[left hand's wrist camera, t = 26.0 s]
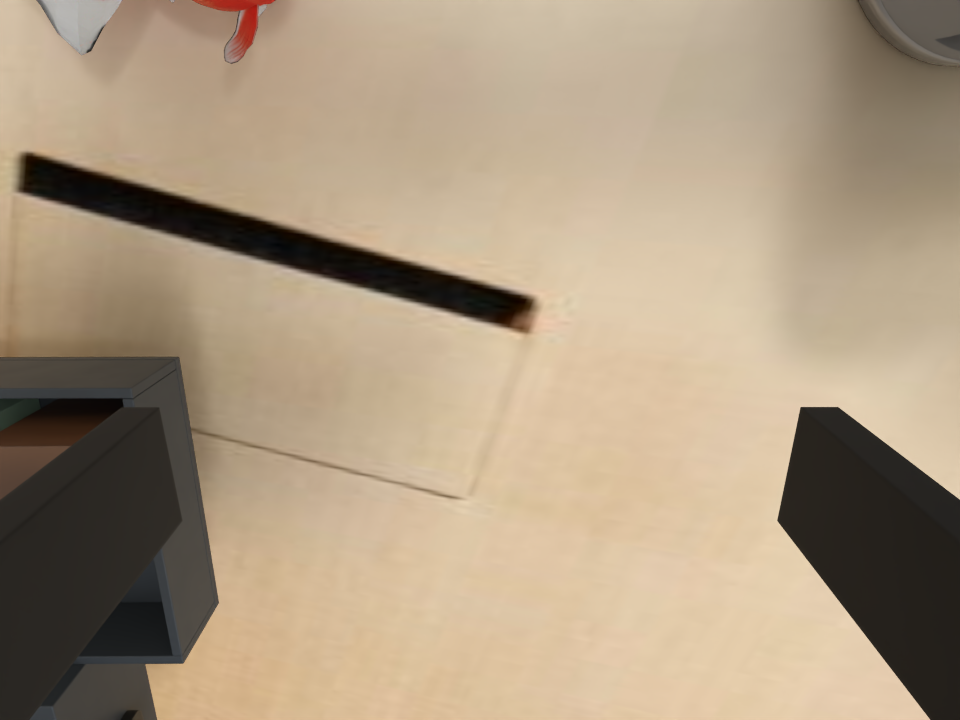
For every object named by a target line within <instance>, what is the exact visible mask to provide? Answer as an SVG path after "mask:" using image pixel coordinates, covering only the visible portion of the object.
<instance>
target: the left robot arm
mask: <svg viewBox="0 0 960 720" xmlns="http://www.w3.org/2000/svg"><path fill="white" fill-rule="evenodd" d="M859 3H860V5H861V7H862V9H863V11H864V13H865V15H866V16H867V18H868V19H869V21H870V22H871V24H872V25H873V27H874V28H875V29H876V30H877V31H878V32H879V34H880V35H881V36H882V37H883V38H884V39H885V40H887V41H888V42H889V43H890V44H891V45H892V46H894V47H895V48H897V49H898V50H900V51H901V52H903V53H905V54H907V55H909V56H911V57H913V58H915V59H918V60H921V61H923V62H927V63H931V64H936V65H943V66H960V0H859ZM182 521H183V520H182V515H181V511H180V506H179V501H178V496H177V491H176V486H175V481H174V476H173V472H172V467H171V462H170V457H169V452H168V447H167V442H166V437H165V433H164V428H163V423H162V418H161V413H160V408H159V407H121V408H120V409H119V410H118V411H116V412H115V413H114V414H112V415H111V416H110V417H108V418H107V419H106V420H104V421H103V422H102V423H100V424H99V425H98V426H97V427H95V428H94V429H93V430H91V431H90V432H89V433H87V434H86V435H85V436H83V437H82V438H81V439H79V440H78V441H77V442H76V443H74V444H73V445H72V446H70V447H69V448H68V449H66V450H65V451H64V452H62V453H61V454H60V455H58V456H57V457H56V458H55V459H53V460H52V461H51V462H49V463H48V464H47V465H45V466H44V467H43V468H41V469H40V470H39V471H37V472H36V473H35V474H34V475H32V476H31V477H30V478H28V479H27V480H26V481H24V482H23V483H22V484H20V485H19V486H18V487H16V488H15V489H14V490H13V491H11V492H10V493H9V494H7V495H6V496H5V497H3V498H2V499H1V500H0V720H30V718H31V717H32V716H33V715H34V713H35V712H36V711H37V709H38V708H39V707H40V705H41V704H42V703H43V702H44V700H45V699H46V698H47V696H48V695H49V694H50V692H51V691H52V690H53V689H54V687H55V686H56V685H57V683H58V682H59V681H60V679H61V678H62V677H63V676H64V674H65V673H66V672H67V670H68V669H69V668H70V666H71V665H72V664H73V663H74V661H75V660H76V659H77V657H78V656H79V655H80V653H81V652H82V651H83V650H84V648H85V647H86V646H87V644H88V643H89V642H90V640H91V639H92V638H93V637H94V635H95V634H96V633H97V631H98V630H99V629H100V627H101V626H102V625H103V624H104V622H105V621H106V620H107V618H108V617H109V616H110V614H111V613H112V612H113V611H114V609H115V608H116V607H117V605H118V604H119V603H120V601H121V600H122V599H123V598H124V596H125V595H126V594H127V592H128V591H129V590H130V588H131V587H132V586H133V585H134V583H135V582H136V581H137V579H138V578H139V577H140V575H141V574H142V573H143V572H144V570H145V569H146V568H147V566H148V565H149V564H150V563H151V561H152V560H153V559H154V557H155V556H156V555H157V553H158V552H159V551H160V550H161V548H162V547H163V546H164V544H165V543H166V542H167V540H168V539H169V538H170V537H171V535H172V534H173V533H174V531H175V530H176V529H177V527H178V526H179V525H180V524H181V522H182ZM777 521H778V522H779V524H780V525H781V526H782V527H783V529H784V530H785V531H786V533H787V534H788V535H789V537H790V538H791V539H792V540H793V542H794V543H795V544H796V546H797V547H798V548H799V550H800V551H801V552H802V553H803V555H804V556H805V557H806V559H807V560H808V561H809V563H810V564H811V565H812V566H813V568H814V569H815V570H816V572H817V573H818V574H819V575H820V577H821V578H822V579H823V581H824V582H825V583H826V585H827V586H828V587H829V588H830V590H831V591H832V592H833V594H834V595H835V596H836V598H837V599H838V600H839V601H840V603H841V604H842V605H843V607H844V608H845V609H846V611H847V612H848V613H849V614H850V616H851V617H852V618H853V620H854V621H855V622H856V624H857V625H858V626H859V627H860V629H861V630H862V631H863V633H864V634H865V635H866V637H867V638H868V639H869V640H870V642H871V643H872V644H873V646H874V647H875V648H876V650H877V651H878V652H879V653H880V655H881V656H882V657H883V659H884V660H885V661H886V663H887V664H888V665H889V666H890V668H891V669H892V670H893V672H894V673H895V674H896V676H897V677H898V678H899V679H900V681H901V682H902V683H903V685H904V686H905V687H906V689H907V690H908V691H909V692H910V694H911V695H912V696H913V698H914V699H915V700H916V702H917V703H918V704H919V705H920V707H921V708H922V709H923V711H924V712H925V713H926V715H927V716H928V717H929V718H930V720H960V500H959V499H958V498H957V497H955V496H954V495H953V494H951V493H950V492H949V491H947V490H946V489H945V488H944V487H942V486H941V485H940V484H938V483H937V482H936V481H934V480H933V479H932V478H930V477H929V476H928V475H926V474H925V473H924V472H923V471H921V470H920V469H919V468H917V467H916V466H915V465H913V464H912V463H911V462H909V461H908V460H907V459H905V458H904V457H903V456H902V455H900V454H899V453H898V452H896V451H895V450H894V449H892V448H891V447H890V446H888V445H887V444H886V443H884V442H883V441H882V440H881V439H879V438H878V437H877V436H875V435H874V434H873V433H871V432H870V431H869V430H867V429H866V428H865V427H863V426H862V425H861V424H860V423H858V422H857V421H856V420H854V419H853V418H852V417H850V416H849V415H848V414H846V413H845V412H844V411H842V410H841V409H840V408H839V407H801V408H800V413H799V418H798V423H797V428H796V433H795V437H794V442H793V447H792V452H791V457H790V462H789V467H788V472H787V476H786V481H785V486H784V491H783V496H782V501H781V506H780V511H779V515H778V520H777Z"/></svg>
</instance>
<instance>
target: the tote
mask: <svg viewBox="0 0 960 720" xmlns="http://www.w3.org/2000/svg"><path fill="white" fill-rule="evenodd" d="M63 398H123V406H124V407H159V408H160V413H161V418H162V423H163V428H164V433H165V437H166V442H167V447H168V452H169V457H170V462H171V467H172V472H173V476H174V481H175V486H176V491H177V496H178V501H179V506H180V511H181V515H182V520H183V521H182V522H181V524H180V525H179V526H178V527H177V529H176V530H175V531H174V533H173V534H172V535H171V537H170V538H169V539H168V540H167V542H166V543H165V544H164V546H163V547H162V548H161V550H160V551H159V552H158V553H157V555H156V556H155V557H154V559H153V560H152V561H151V563H150V564H149V565H148V566H147V568H146V569H145V570H144V572H143V573H142V574H141V575H140V577H139V578H138V579H137V581H136V582H135V583H134V585H133V586H132V587H131V588H130V590H129V591H128V592H127V594H126V595H125V596H124V598H123V599H122V600H121V601H120V603H119V604H118V605H117V607H116V608H115V609H114V611H113V612H112V613H111V614H110V616H109V617H108V618H107V620H106V621H105V622H104V624H103V625H102V626H101V627H100V629H99V630H98V631H97V633H96V634H95V635H94V637H93V638H92V639H91V640H90V642H89V643H88V644H87V646H86V647H85V648H84V650H83V651H82V652H81V653H80V655H79V656H78V657H77V659H76V660H75V661H74V663H73V664H72V665H71V666H70V668H69V669H68V670H67V672H66V673H65V674H64V676H63V677H62V678H61V679H60V681H59V682H58V683H57V685H56V686H55V687H54V689H53V690H52V691H51V692H50V694H49V695H48V696H47V698H46V699H45V700H44V702H43V703H42V704H41V705H40V707H39V708H38V709H37V711H36V712H35V713H34V715H33V716H32V717H31V718H30V720H121V719H122V717H123V715H124V714H125V712H126V711H127V710H141V711H142V715H143V719H144V720H157V717H156V712H155V708H154V703H153V698H152V694H151V689H150V684H149V680H148V675H147V671H146V666H145V664H183V663H184V662H185V660H186V658H187V657H188V655H189V653H190V651H191V650H192V648H193V646H194V645H195V643H196V641H197V639H198V638H199V636H200V634H201V633H202V631H203V629H204V627H205V626H206V624H207V622H208V621H209V619H210V617H211V615H212V614H213V612H214V610H215V608H216V607H217V605H218V603H219V601H218V595H217V588H216V582H215V576H214V570H213V564H212V558H211V551H210V545H209V539H208V533H207V527H206V520H205V514H204V508H203V502H202V496H201V490H200V483H199V477H198V471H197V465H196V459H195V452H194V446H193V440H192V434H191V428H190V422H189V415H188V409H187V403H186V397H185V391H184V384H183V378H182V372H181V366H180V360H179V357H0V399H39V403H40V407H41V408H43V407H44V406H46V405H48V404H50V403H52V402H53V401H55V400H57V399H63Z"/></svg>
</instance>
